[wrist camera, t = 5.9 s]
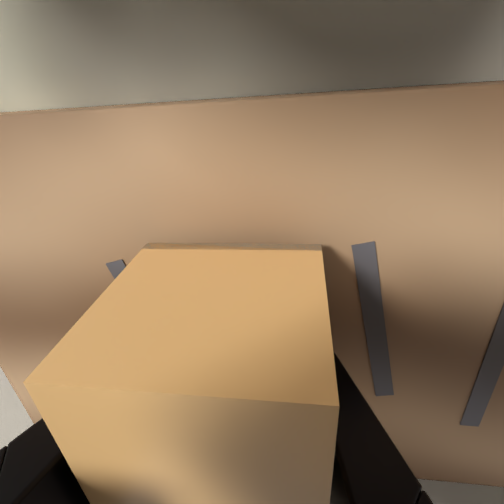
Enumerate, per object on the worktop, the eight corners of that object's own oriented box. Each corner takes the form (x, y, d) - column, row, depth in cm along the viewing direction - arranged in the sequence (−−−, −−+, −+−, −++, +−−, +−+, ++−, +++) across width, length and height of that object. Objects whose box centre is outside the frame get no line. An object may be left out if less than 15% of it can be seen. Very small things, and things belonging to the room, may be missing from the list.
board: (662, 471, 11) (695, 507, 10) (60, 419, 14) (44, 442, 13) (1050, 45, 5) (1204, 40, 4) (-97, 118, 9) (-145, 124, 8)
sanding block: (313, 420, 10) (319, 605, 7) (186, 410, 11) (130, 575, 7) (320, 244, 7) (339, 406, 4) (147, 243, 8) (23, 382, 4)
